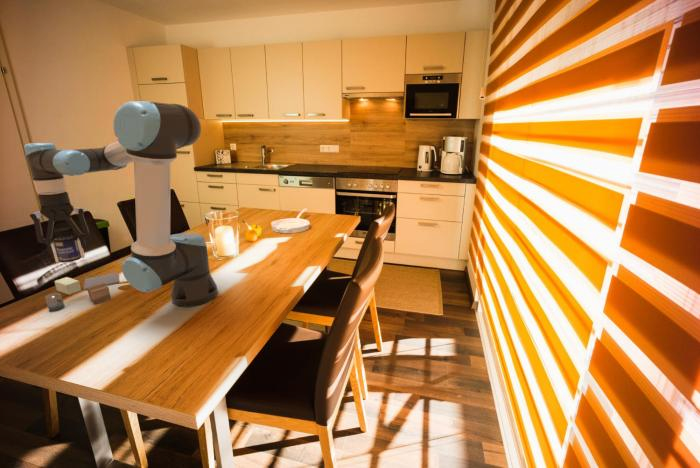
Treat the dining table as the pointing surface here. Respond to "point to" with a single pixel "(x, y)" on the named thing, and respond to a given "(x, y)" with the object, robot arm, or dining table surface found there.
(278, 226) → the pan
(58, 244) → the pill bottle
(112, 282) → the mat
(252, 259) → the dining table surface
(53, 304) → the grey rounded block
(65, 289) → the sage block
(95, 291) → the walnut cube
